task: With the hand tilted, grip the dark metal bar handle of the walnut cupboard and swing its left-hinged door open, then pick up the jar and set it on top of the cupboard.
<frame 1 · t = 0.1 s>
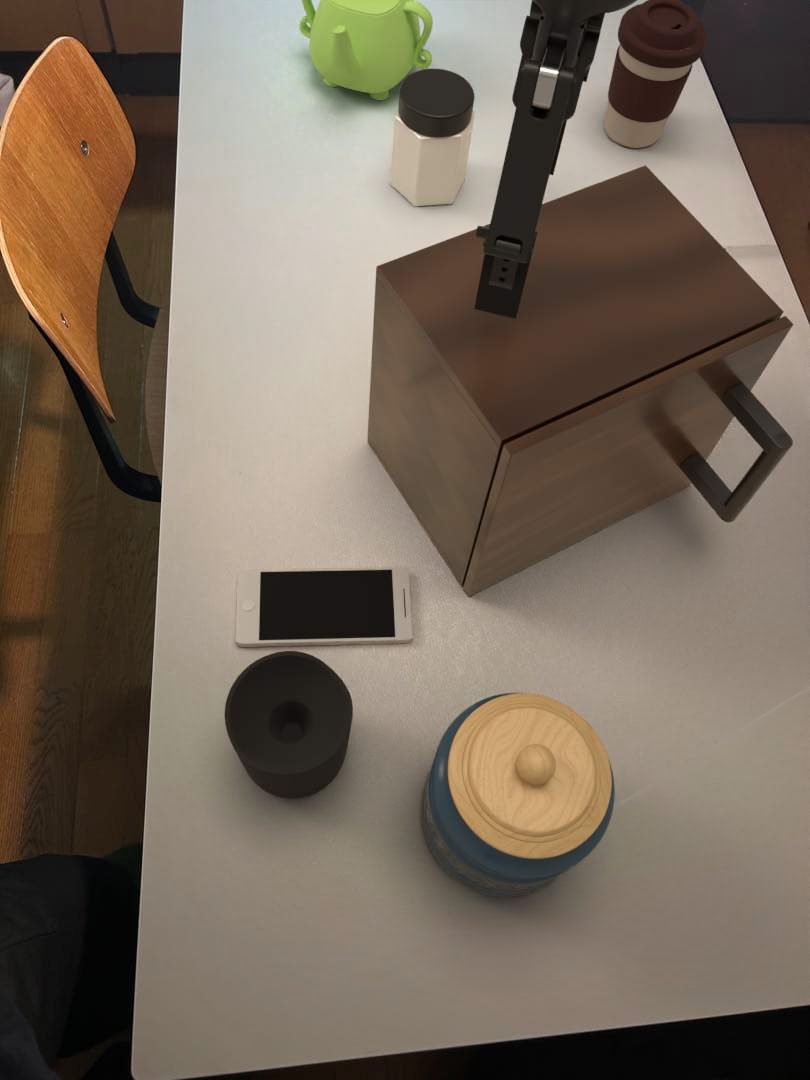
hand: (516, 235, 62), 32 cm above the table, tool pointing down, fingers open, 13 cm apart
cupboard door: (637, 499, 77), point 12 cm above the table, hinge at 0.0°
coffee cup: (630, 131, 117), on the table
teapot: (361, 79, 119), on the table
cupboard: (525, 459, 93), on the table
canister: (497, 815, 76), on the table
pen holder: (294, 748, 78), on the table
jar: (427, 183, 110), on the table
smartphone: (324, 608, 84), on the table
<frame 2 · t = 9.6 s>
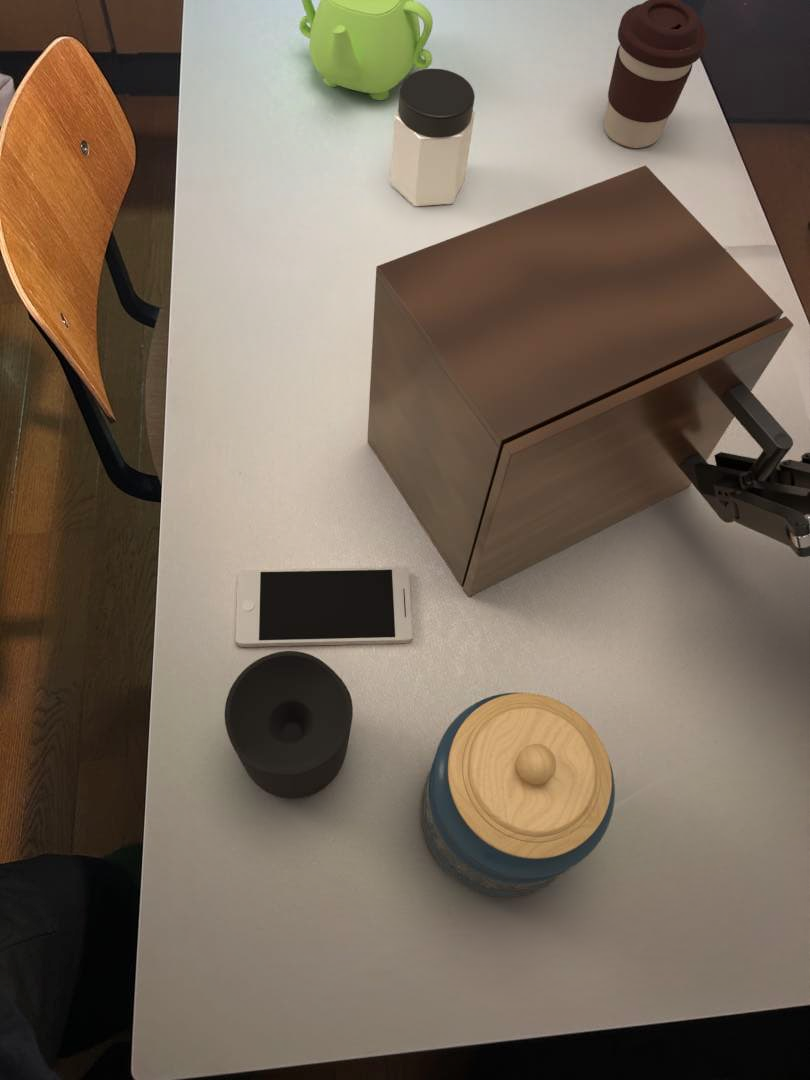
hand: (710, 472, 84), 8 cm above the table, tool tilted 45°, fingers closed on cupboard door, 2 cm apart
cupboard door: (637, 499, 77), point 12 cm above the table, hinge at 0.1°, touching gripper
everything else where it was.
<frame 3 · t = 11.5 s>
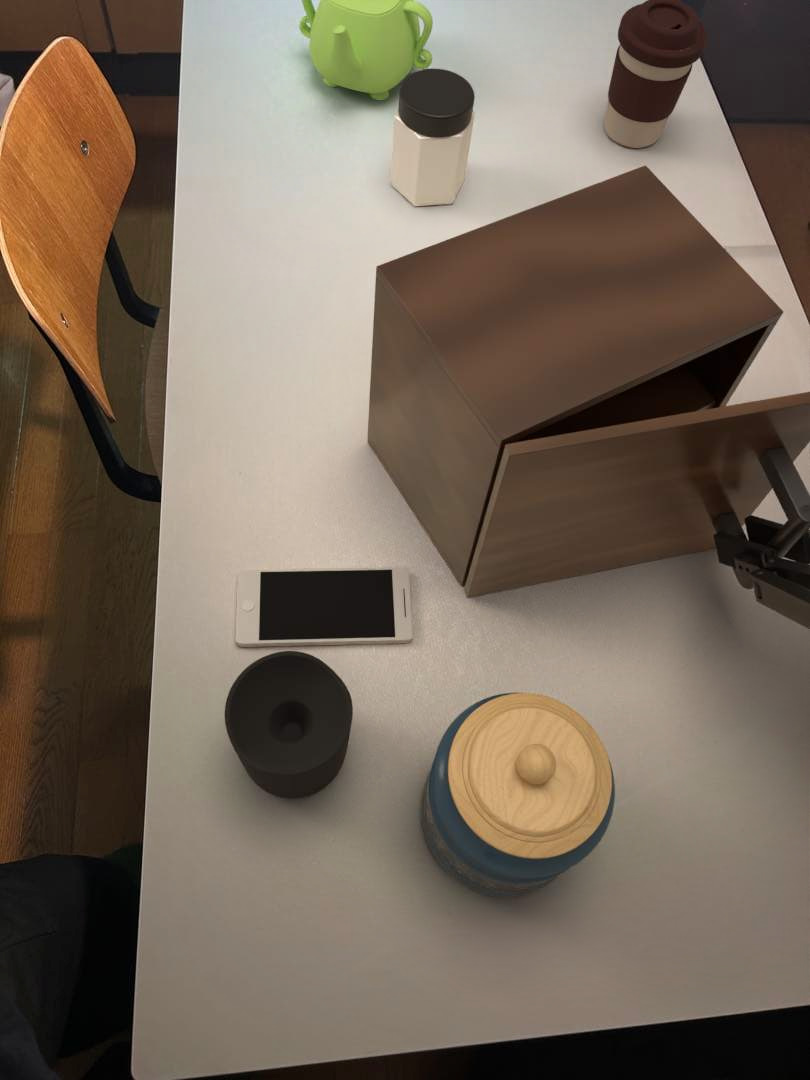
hand: (735, 539, 80), 8 cm above the table, tool tilted 45°, fingers open, 3 cm apart
cupboard door: (648, 538, 75), point 12 cm above the table, hinge at 16.0°, touching gripper
everything else where it was.
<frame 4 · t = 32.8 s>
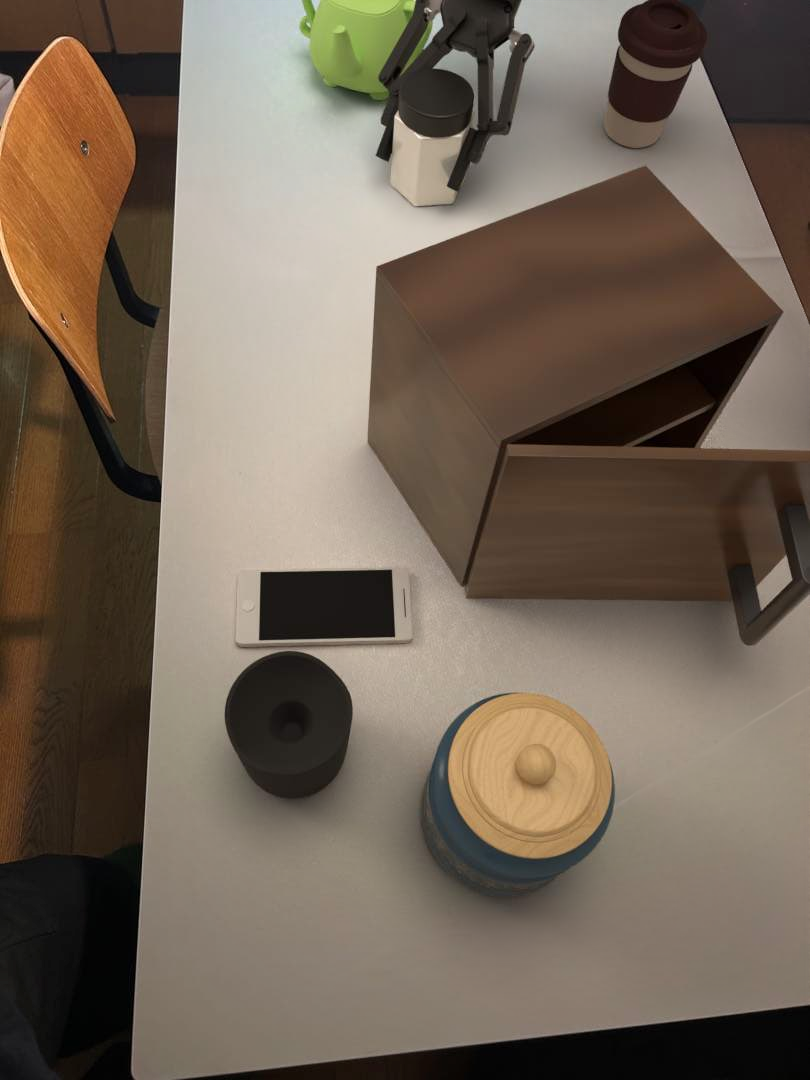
hand: (416, 173, 105), 4 cm above the table, tool tilted 45°, fingers closed on jar, 8 cm apart
cupboard door: (648, 571, 74), point 12 cm above the table, hinge at 28.7°
jar: (427, 183, 110), on the table, touching gripper
everything else where it was.
when the fingers open (28 cm above the table, at t = 43.7 s): jar stays where it is, resting on cupboard.
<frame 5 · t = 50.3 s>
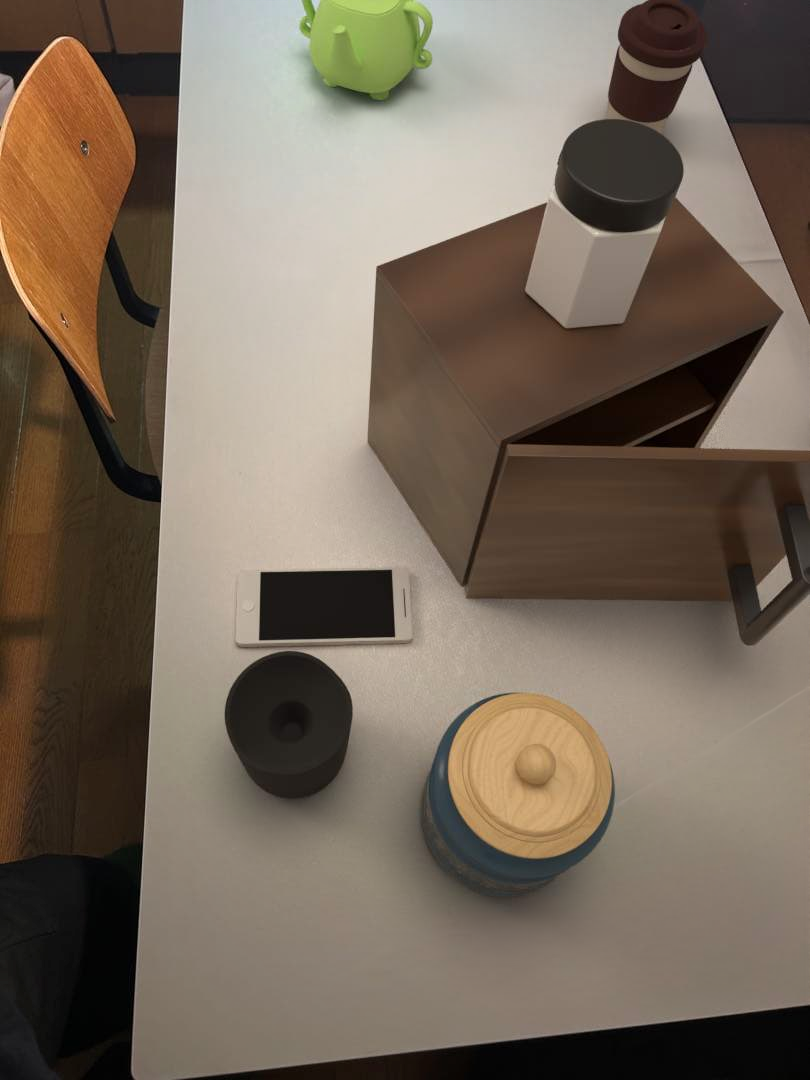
jar: (580, 290, 72), point 24 cm above the table, touching cupboard
everything else where it was.
at the end: cupboard door at +29° (first picture: +0°); jar inside the target area on the cupboard (0.0 cm from its centre), point 23.8 cm above the cupboard's base; jar tilted 0° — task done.
